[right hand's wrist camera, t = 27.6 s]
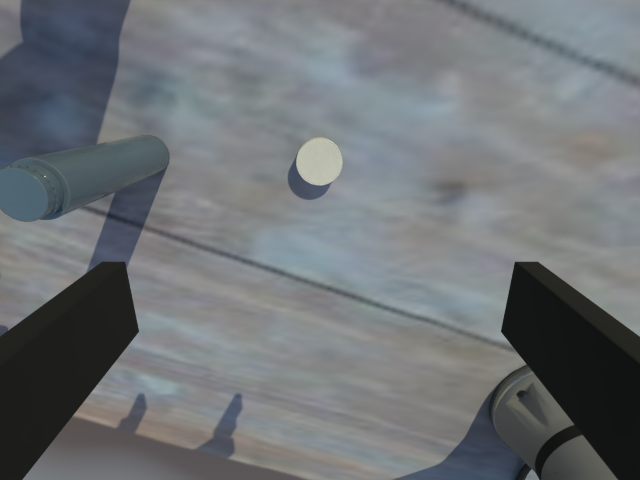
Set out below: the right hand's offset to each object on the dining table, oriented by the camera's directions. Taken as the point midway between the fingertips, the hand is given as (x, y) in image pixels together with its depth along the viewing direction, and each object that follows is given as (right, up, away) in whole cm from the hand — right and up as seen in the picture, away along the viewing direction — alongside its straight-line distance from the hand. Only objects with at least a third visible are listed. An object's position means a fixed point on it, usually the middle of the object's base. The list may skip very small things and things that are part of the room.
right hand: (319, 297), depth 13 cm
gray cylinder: (-18, +11, +28) cm, 35 cm away
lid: (0, +10, +26) cm, 28 cm away
